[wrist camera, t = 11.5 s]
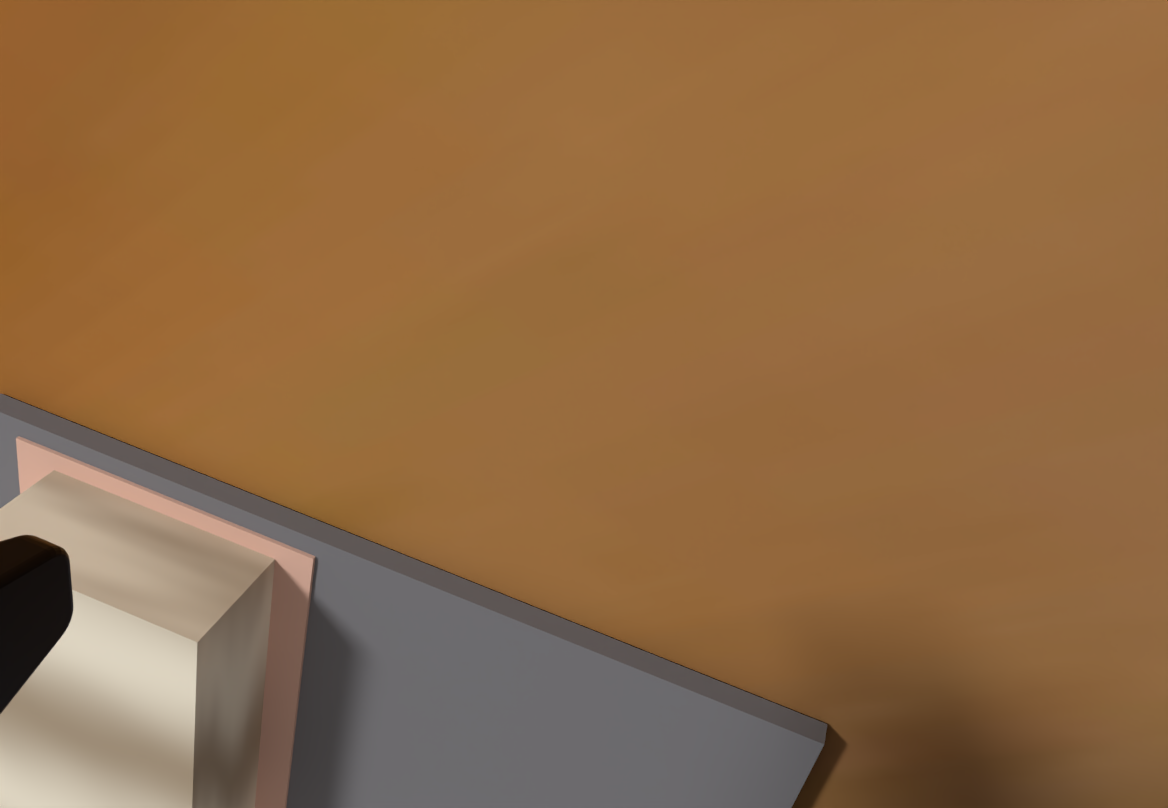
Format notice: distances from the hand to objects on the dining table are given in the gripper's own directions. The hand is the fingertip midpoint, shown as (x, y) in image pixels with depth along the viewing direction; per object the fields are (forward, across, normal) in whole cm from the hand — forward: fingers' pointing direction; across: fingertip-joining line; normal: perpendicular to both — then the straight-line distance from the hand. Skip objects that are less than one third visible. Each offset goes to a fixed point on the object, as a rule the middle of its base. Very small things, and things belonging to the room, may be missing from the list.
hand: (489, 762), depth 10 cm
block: (+10, +12, +15) cm, 21 cm away
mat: (+11, +6, +15) cm, 20 cm away
